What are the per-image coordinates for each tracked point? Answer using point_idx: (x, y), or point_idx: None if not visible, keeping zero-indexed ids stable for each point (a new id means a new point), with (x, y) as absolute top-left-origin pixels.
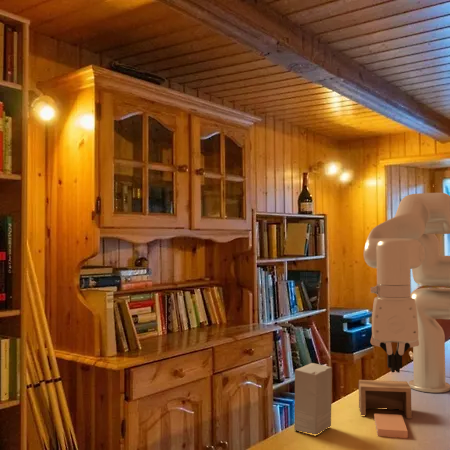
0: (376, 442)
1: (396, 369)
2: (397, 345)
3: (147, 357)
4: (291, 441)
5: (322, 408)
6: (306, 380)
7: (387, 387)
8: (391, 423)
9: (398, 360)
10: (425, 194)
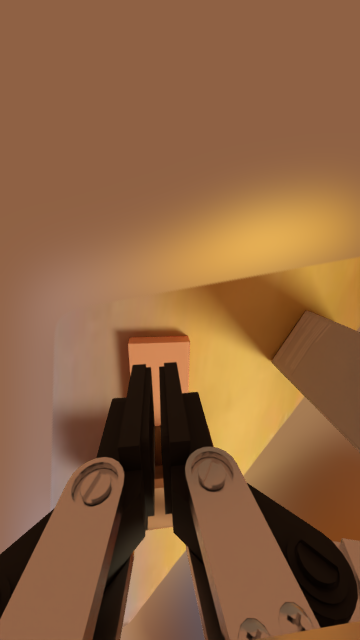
0: (193, 303)
1: (150, 372)
2: (121, 622)
3: None
4: (355, 278)
5: (325, 347)
6: None
7: (160, 488)
8: (158, 378)
9: (132, 412)
10: None
